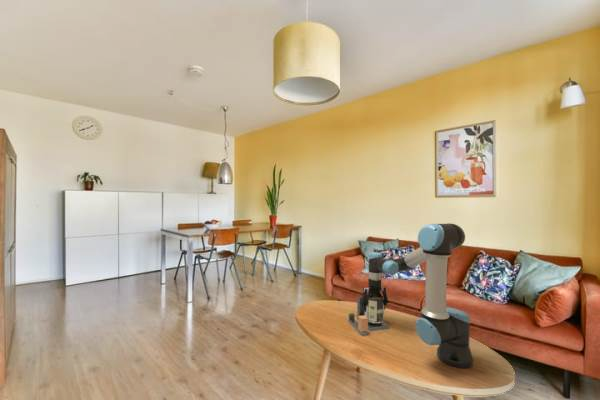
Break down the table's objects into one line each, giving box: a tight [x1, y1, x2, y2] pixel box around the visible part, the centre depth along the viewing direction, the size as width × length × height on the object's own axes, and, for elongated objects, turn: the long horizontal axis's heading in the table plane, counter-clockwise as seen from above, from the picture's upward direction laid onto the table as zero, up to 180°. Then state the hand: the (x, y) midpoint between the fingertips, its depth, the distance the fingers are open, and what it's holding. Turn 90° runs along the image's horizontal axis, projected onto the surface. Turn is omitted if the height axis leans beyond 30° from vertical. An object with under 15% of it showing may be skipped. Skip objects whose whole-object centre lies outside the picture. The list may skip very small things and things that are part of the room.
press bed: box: [356, 295, 389, 332], centre depth 168 cm, size 16×12×14 cm
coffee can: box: [366, 293, 384, 323], centre depth 166 cm, size 10×10×14 cm
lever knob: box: [357, 315, 369, 332], centre depth 156 cm, size 4×4×7 cm
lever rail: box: [348, 312, 368, 337], centre depth 162 cm, size 18×3×5 cm, turn 15°
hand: (374, 315), depth 166 cm, fingers closed on coffee can, 10 cm apart
